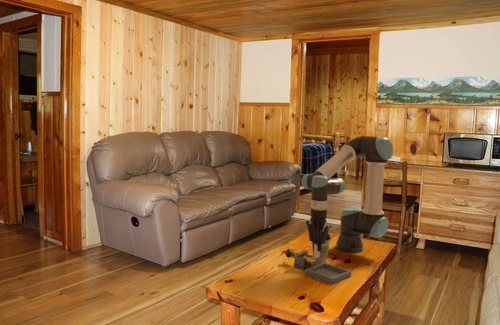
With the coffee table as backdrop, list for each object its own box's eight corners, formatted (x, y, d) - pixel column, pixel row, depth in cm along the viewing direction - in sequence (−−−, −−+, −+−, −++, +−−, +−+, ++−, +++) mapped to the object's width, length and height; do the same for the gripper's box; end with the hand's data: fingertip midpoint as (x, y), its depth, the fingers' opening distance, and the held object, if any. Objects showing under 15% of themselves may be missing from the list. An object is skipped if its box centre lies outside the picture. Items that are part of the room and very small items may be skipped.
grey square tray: (324, 267, 201) (324, 262, 201) (350, 276, 191) (351, 271, 190) (305, 274, 191) (305, 269, 191) (332, 284, 180) (332, 279, 180)
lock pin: (290, 256, 208) (291, 247, 208) (316, 265, 197) (317, 256, 196) (285, 258, 205) (285, 249, 205) (310, 267, 194) (311, 258, 193)
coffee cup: (329, 267, 202) (331, 237, 200) (309, 265, 204) (310, 235, 202) (329, 260, 211) (331, 232, 210) (310, 258, 213) (311, 230, 212)
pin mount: (302, 264, 205) (303, 250, 204) (312, 267, 200) (313, 253, 200) (293, 267, 200) (294, 252, 199) (303, 270, 195) (304, 256, 195)
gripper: (302, 207, 194) (301, 255, 196) (325, 212, 184) (323, 262, 187) (312, 205, 199) (310, 251, 202) (335, 210, 190) (332, 259, 192)
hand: (316, 257), depth 194 cm, fingers closed
